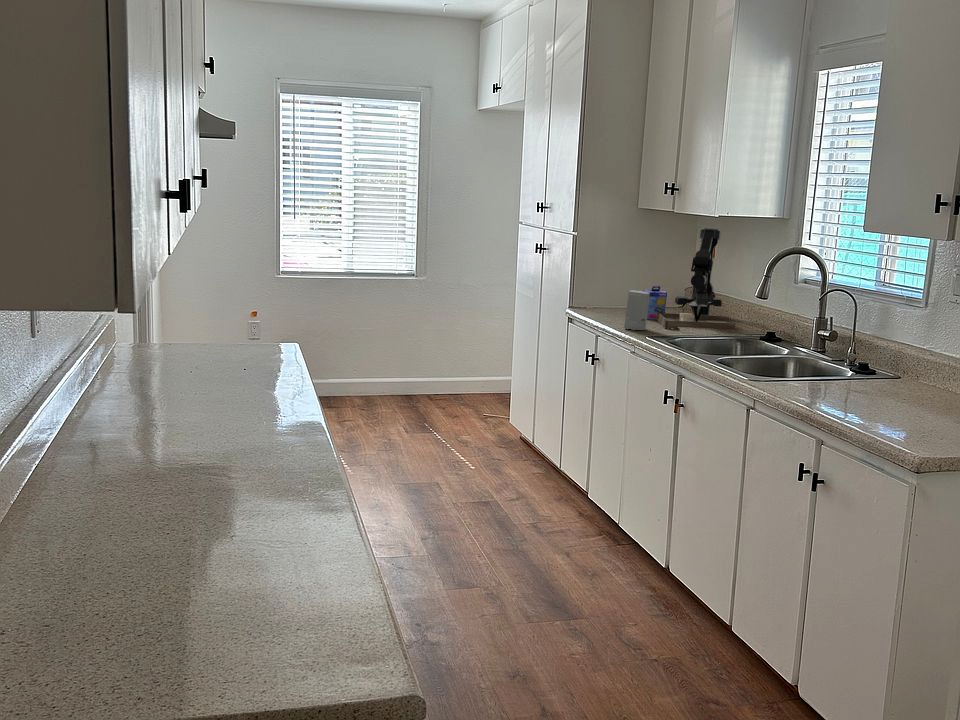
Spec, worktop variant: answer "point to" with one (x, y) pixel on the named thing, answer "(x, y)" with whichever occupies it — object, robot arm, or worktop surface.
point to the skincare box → (636, 310)
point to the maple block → (686, 317)
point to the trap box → (712, 321)
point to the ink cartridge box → (656, 302)
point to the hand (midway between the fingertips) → (696, 321)
